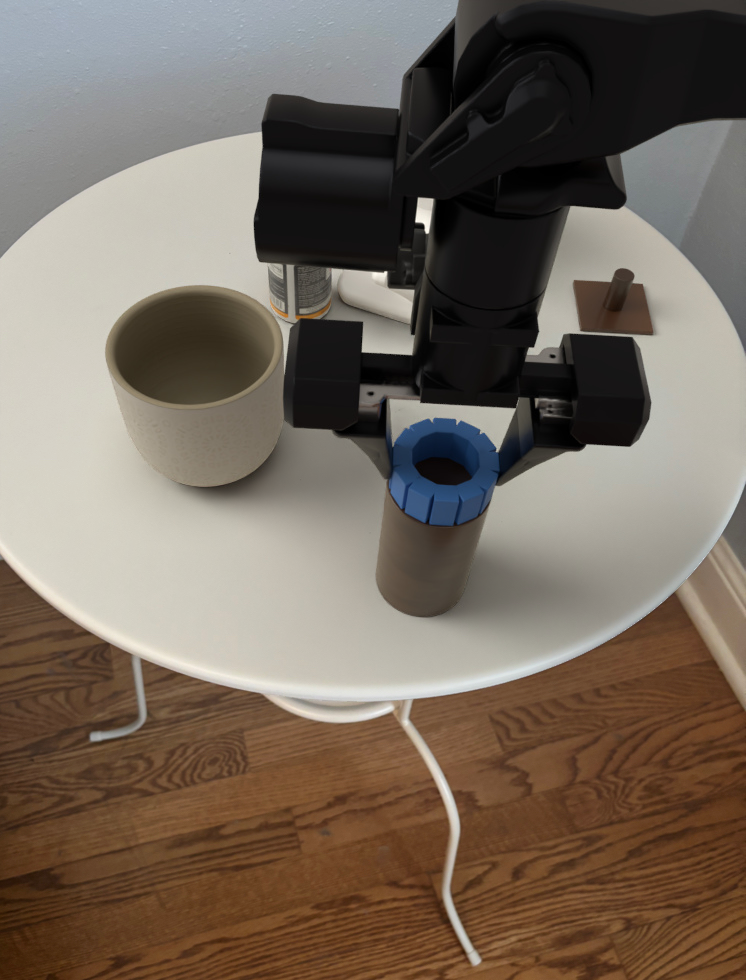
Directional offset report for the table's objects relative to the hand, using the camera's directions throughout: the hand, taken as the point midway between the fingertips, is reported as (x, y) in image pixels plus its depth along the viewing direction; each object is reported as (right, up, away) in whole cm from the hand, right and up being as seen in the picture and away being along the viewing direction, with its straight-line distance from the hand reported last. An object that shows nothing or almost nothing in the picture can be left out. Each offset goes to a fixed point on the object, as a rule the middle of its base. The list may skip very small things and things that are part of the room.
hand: (442, 476), depth 51 cm
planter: (-17, +4, +17) cm, 24 cm away
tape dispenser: (+1, +22, +29) cm, 37 cm away
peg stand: (+19, +18, +27) cm, 37 cm away
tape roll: (0, 0, +1) cm, 1 cm away
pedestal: (0, -7, +10) cm, 12 cm away
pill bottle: (-10, +18, +26) cm, 33 cm away
